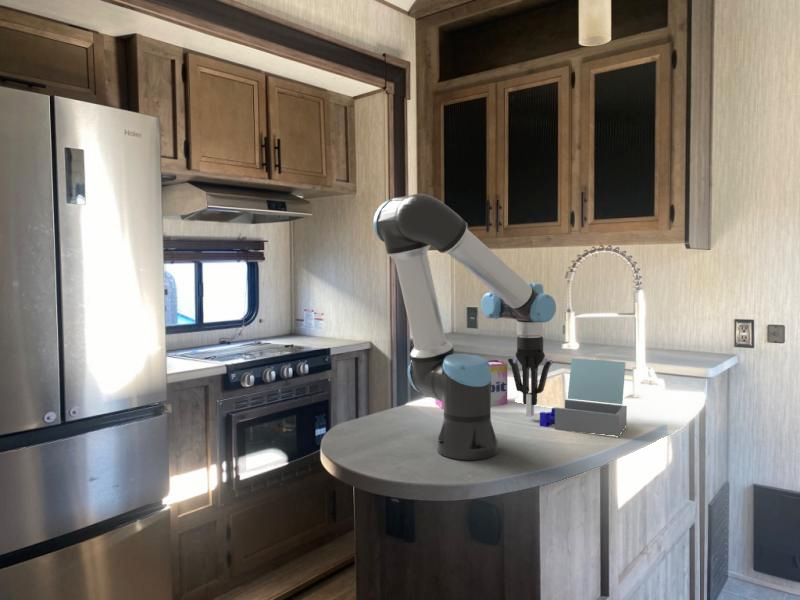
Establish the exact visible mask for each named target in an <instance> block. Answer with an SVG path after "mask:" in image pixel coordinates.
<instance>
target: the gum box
mask: <svg viewBox="0 0 800 600" xmlns="http://www.w3.org/2000/svg"><path fill="white" fill-rule="evenodd" d="M486 360H487V359H486ZM487 361H488V363H489V365H490V371H491V406H499V405H508V363H506V362H505V361H502V360H500V359H489V360H487ZM434 400H435V404H436V405H437V406H438V407H439V408H440V409H442V410H444V402H442V401H440V400H437V399H434Z"/></svg>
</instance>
